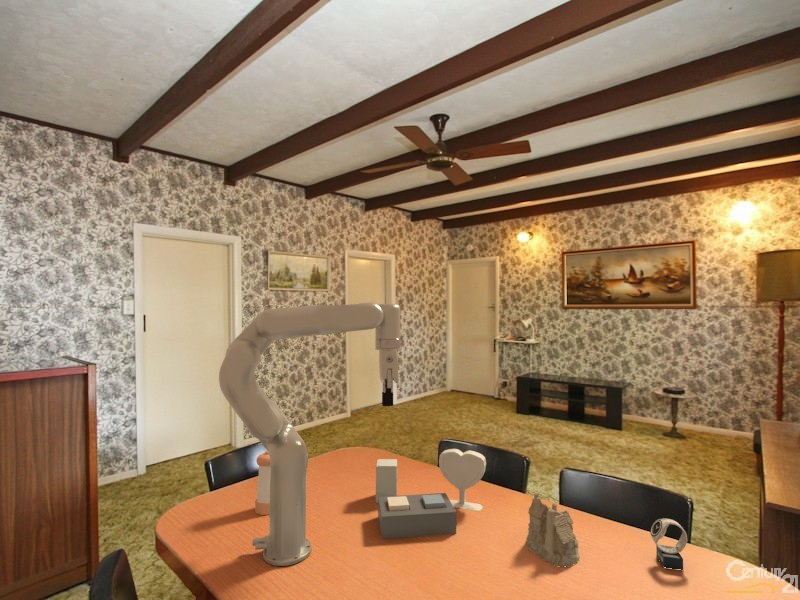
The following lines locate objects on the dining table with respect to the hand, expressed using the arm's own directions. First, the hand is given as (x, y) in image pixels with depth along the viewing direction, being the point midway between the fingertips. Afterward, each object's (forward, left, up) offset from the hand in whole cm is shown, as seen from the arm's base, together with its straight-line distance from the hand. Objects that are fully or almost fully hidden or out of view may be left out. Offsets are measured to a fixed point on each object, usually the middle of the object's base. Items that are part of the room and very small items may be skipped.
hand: (387, 405), depth 125 cm
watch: (+71, -26, -37) cm, 84 cm away
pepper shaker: (-38, +18, -37) cm, 56 cm away
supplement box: (+2, +21, -37) cm, 43 cm away
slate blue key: (+14, +2, -35) cm, 37 cm away
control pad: (+9, +2, -37) cm, 38 cm away
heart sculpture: (+27, +13, -37) cm, 48 cm away
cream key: (+3, +2, -35) cm, 35 cm away
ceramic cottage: (+46, -15, -38) cm, 61 cm away
